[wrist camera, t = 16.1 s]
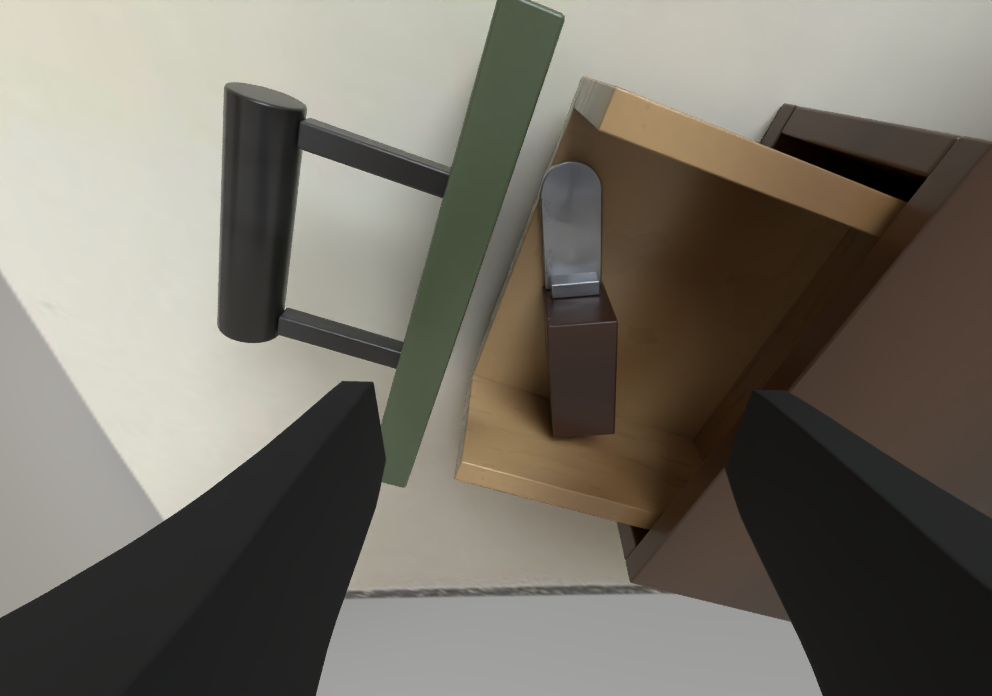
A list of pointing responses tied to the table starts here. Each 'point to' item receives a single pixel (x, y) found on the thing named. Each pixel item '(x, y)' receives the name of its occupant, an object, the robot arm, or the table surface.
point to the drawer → (519, 310)
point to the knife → (577, 303)
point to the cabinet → (864, 350)
